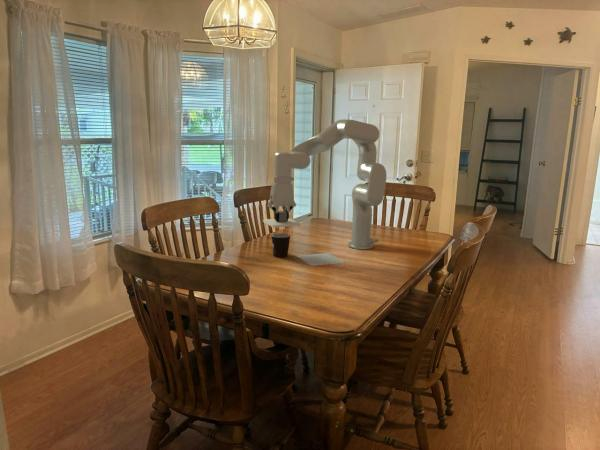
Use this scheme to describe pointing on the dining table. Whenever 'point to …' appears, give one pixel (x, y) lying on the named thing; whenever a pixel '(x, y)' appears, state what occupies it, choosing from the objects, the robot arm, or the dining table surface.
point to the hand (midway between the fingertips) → (281, 220)
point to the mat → (320, 259)
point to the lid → (281, 221)
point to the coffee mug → (280, 244)
